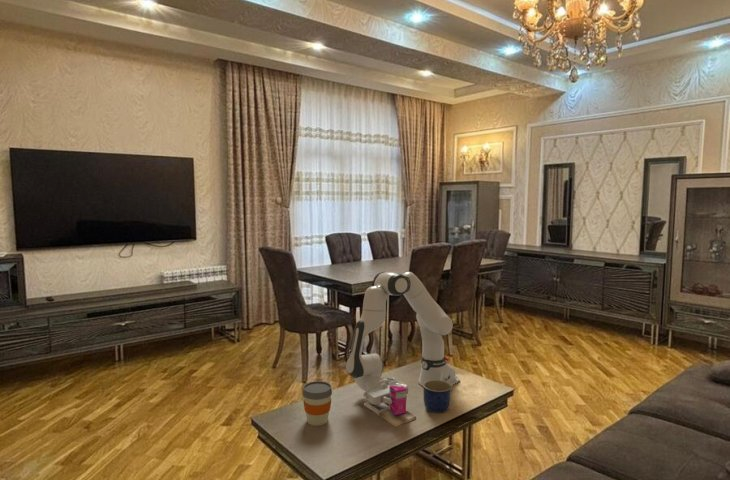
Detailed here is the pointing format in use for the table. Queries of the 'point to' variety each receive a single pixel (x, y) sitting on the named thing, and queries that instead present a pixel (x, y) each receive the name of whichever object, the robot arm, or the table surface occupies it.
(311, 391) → the reusable coffee cup
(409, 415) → the board
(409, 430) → the table surface
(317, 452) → the table surface
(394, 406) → the supplement box
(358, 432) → the table surface
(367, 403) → the square tray
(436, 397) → the planter
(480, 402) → the table surface
